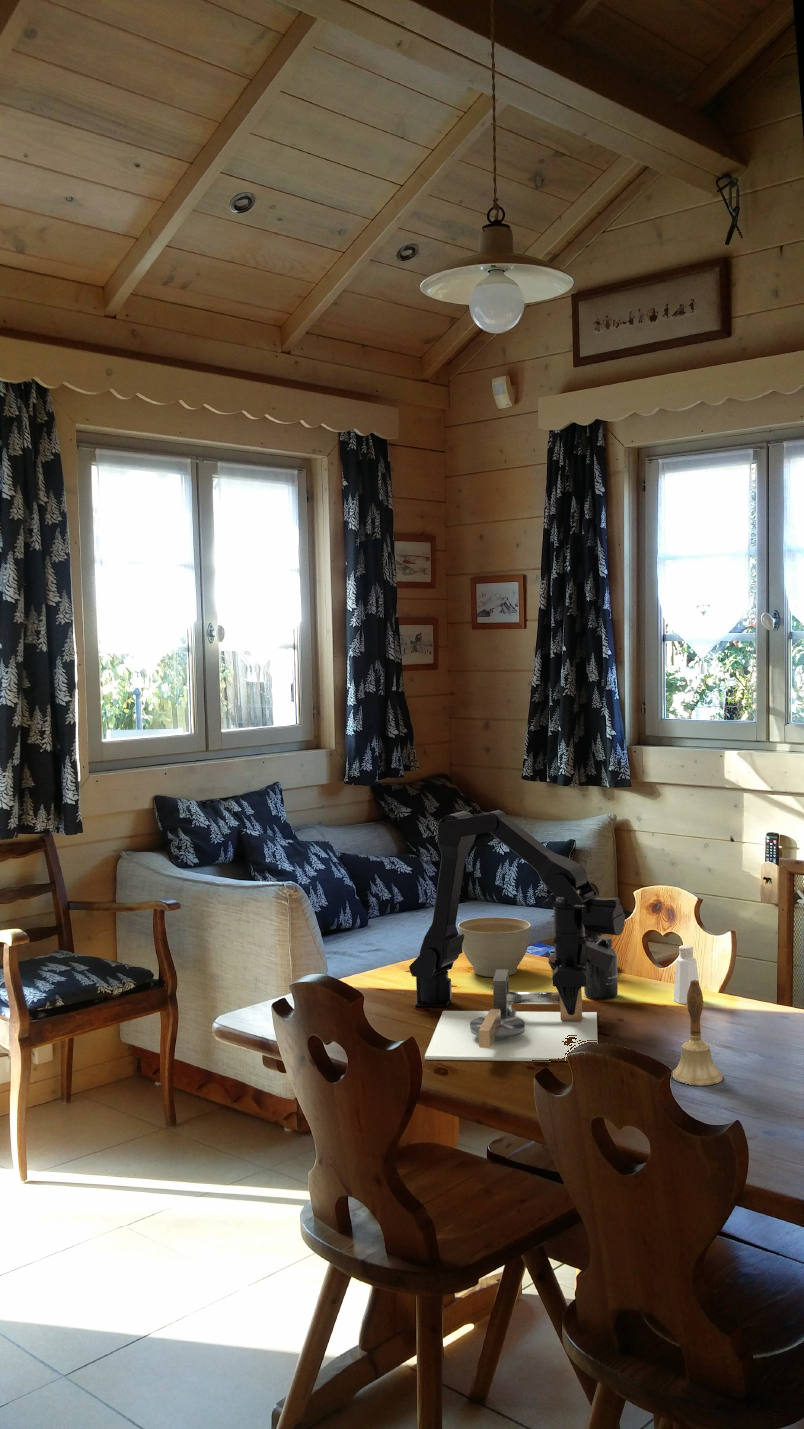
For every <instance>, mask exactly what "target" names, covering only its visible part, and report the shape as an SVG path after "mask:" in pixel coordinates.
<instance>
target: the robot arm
mask: <svg viewBox="0 0 804 1429" xmlns="http://www.w3.org/2000/svg"><path fill="white" fill-rule="evenodd" d="M487 833H489V834H491V835H492V836H493V837H494V838H495V839H497V840H499V841H500V843H502V844H503V845H505V846H506V847H507V848H508V849H510V850H511V851H512V852H513V853H515V854H516V855H517V856H518V857H520V859H522V861H525V863H527V864H528V865H530V866H531V867H532V868H533V870H535V871H536V873H537V874H538V876H539V879H540V880H541V883H543V884H544V885H545V886H546V888H547V889H548V890H549V891H550V892H551V893H550V895H549V896H548V898H547V899H546V900H544V901H543V902H542V906H543V907H550V908H553V931H554V932H553V935H554V936H553V945H554V953H555V965H560V966H558V967H557V968H554V970H553V971H552V978H551V979H552V987H555V988H556V991H557V992H558V993H559V995H560V997H561V999H562V1001H563V1004H564V1006H565V1008H566V1010H567V1013H568V1015H574V1013H575V1007H576V1002H577V996H578V991H579V989H580V988H581V989H582V988H584V987H585V986H587V973H586V968H582V967H580V966H587V962H588V963H590V964H592V965H595V966H598V967H601V968H603V970H606V971H610V970H611V967H612V964H613V961H614V959H615V953H616V951H615V950H614V948H613V947H612V948H611V949H609V944H608V941H607V940H605V939H602V938H601V939H600V940H599V941H598V942H597V943H596V944H595V942H593V943H591V942H588V941H586V935H585V933H584V929H587V930H588V931H589V932H590V933H599V934H601V935H609V936H610V935H611V936H621V934H622V933H623V931H624V929H625V924H626V923H625V922H626V914H625V913H624V909H623V906H622V905H621V904H620V902H621V901H620V898H619V897H609V898H607V897H600V894H599V895H598V893H597V892H596V890H595V889H594V888H593V886H592V885H591V883H592V882H591V883H590V880H589V879H588V876H587V870H586V869H585V868H584V866H582V865H581V864H579V863H578V862H576V861H574V860H572V859H570V858H569V857H566V856H564V855H561V854H558V853H555V852H554V851H551V850H550V849H549V848H548V847H546V846H545V845H544V844H542V842H540V841H539V840H537V839H536V838H535V837H534V836H532V835H531V834H530V832H529V833H528V831H526V830H525V829H524V828H522V827H521V826H520V825H519V824H517V823H516V822H515V821H514V820H512V819H511V818H510V817H508V814H507V813H506V812H504V811H502V810H499V809H497V810H493V811H489V812H483V813H477V814H475V813H474V814H472V813H471V812H469V811H465V810H462V811H459V812H455V813H451V814H448V815H444V816H443V817H442V818H441V819H439V821H438V823H437V844H438V847H439V852H440V855H441V858H440V859H441V860H440V867H439V873H438V880H437V888H436V889H437V890H436V893H435V901H434V902H435V903H434V908H433V915H432V916H433V917H432V920H431V921H432V922H431V924H430V927H429V928H428V930H427V932H426V934H425V935H424V937H423V939H422V943H421V945H420V950H419V955H418V956H417V957H416V958H415V960H413V961H412V963H410V965H409V966H408V969H409V971H410V975H411V976H412V977H414V978H415V981H416V982H415V983H416V1001H415V1007H438V1008H439V1007H440V1008H441V1007H442V1008H443V1007H448V1006H449V1003H450V1002H451V1000H452V996H453V995H452V994H453V993H452V979H451V977H449V970H452V969H453V965H454V963H455V961H457V960H458V959H459V957H460V955H461V954H463V953H464V952H463V949H462V943H463V940H464V934H459V930H458V927H457V919H458V918H457V917H458V911H459V910H458V909H459V904H460V896H461V890H462V883H463V875H464V870H465V864H466V863H465V862H466V858H467V856H468V854H469V852H470V850H471V849H472V847H473V845H474V842H475V840H476V836H477V835H481V834H487ZM579 891H580V892H581V893H582V894H580V895H579V894H578V893H577V892H579ZM598 897H599V898H598Z"/></svg>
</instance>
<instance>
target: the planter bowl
mask: <svg viewBox="0 0 804 1429" xmlns="http://www.w3.org/2000/svg"><path fill="white" fill-rule="evenodd" d="M531 928H532V926H531V923H530V922H529V921H526V920H524V919H520V918H515V917H514V918H513V917H503V916H501V917H499V916H487V917H486V916H484V917H475V918H471V919H465V920H463V921H461V922H459V923H458V924H457V931H458V934H464V940H463V943H462V951H463V953H464V956H465V958H466V960H467V961H468V962H469V964H470V965H471V966H472V970H473V973H474V974H476V975H477V976H482V977H487V978H488V977H489V978H494V975H495V972H496V969H508V970H509V976H512V975H514V974H516V973H517V972H518V966H519V965H520V963H521V962H522V960H523V959H524V957H525V955H526V953H527V951H528V948H529V944H530V933H531Z"/></svg>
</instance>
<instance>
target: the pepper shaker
mask: <svg viewBox="0 0 804 1429" xmlns="http://www.w3.org/2000/svg"><path fill="white" fill-rule="evenodd" d="M678 950H679V953H678V954H679V957H678V958H677V959H676V965H675V966H676V967H675V979H674V990H673V991H674V992H673V1002H676V1003H677V1004H679V1005H681V1004H682V1005H687V993H688V989H689V986H690V982H691V980H697V981H699V982H700V980H699V974H698V973H699V972H698V965H697V960H696V958H694V946H692V945H689V944H682V945H679V947H678Z"/></svg>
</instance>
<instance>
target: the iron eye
mask: <svg viewBox="0 0 804 1429" xmlns="http://www.w3.org/2000/svg"><path fill="white" fill-rule="evenodd" d="M509 976H510V975H509V970H508V969H496V972H495V975H494V977H493V978H492V992H493V993H492V994H493V995H492V996H493V997H492V999H493V1007H492V1009H500V1014H501V1015H508V1016H514V1014H515V1011H516V1007H511V1010H512V1012H511V1013H507V992H510V978H509Z"/></svg>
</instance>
